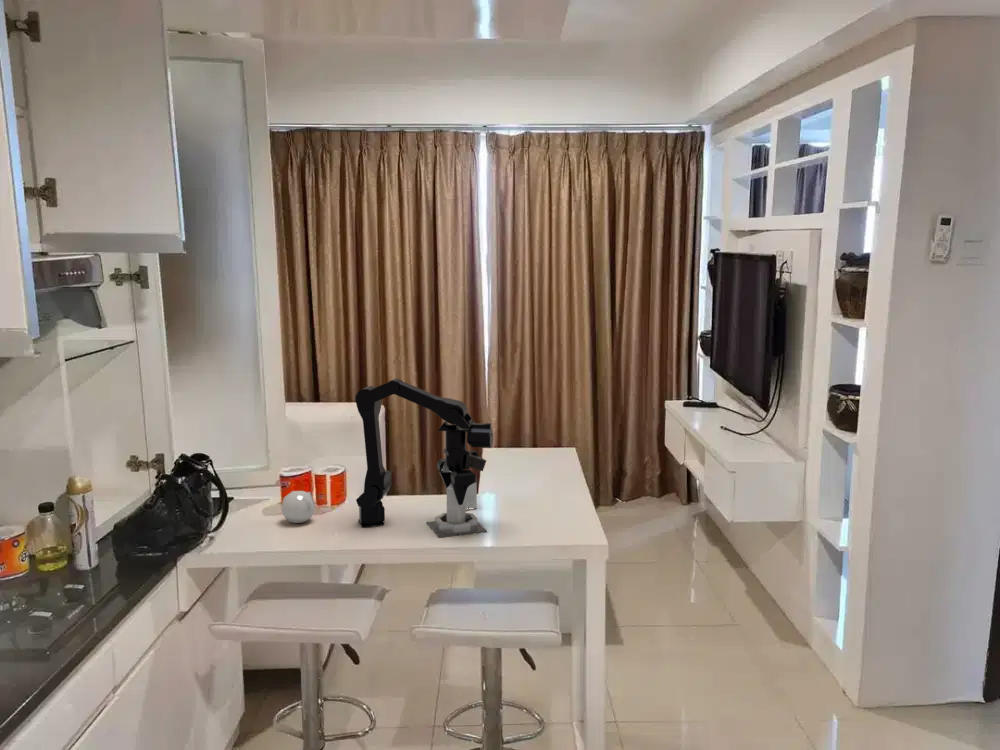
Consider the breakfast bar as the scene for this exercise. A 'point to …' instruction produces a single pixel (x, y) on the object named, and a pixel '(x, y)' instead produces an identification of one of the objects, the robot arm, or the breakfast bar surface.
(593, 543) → the breakfast bar surface
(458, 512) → the skincare box
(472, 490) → the small box
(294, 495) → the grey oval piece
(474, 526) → the grey octagonal ring base
